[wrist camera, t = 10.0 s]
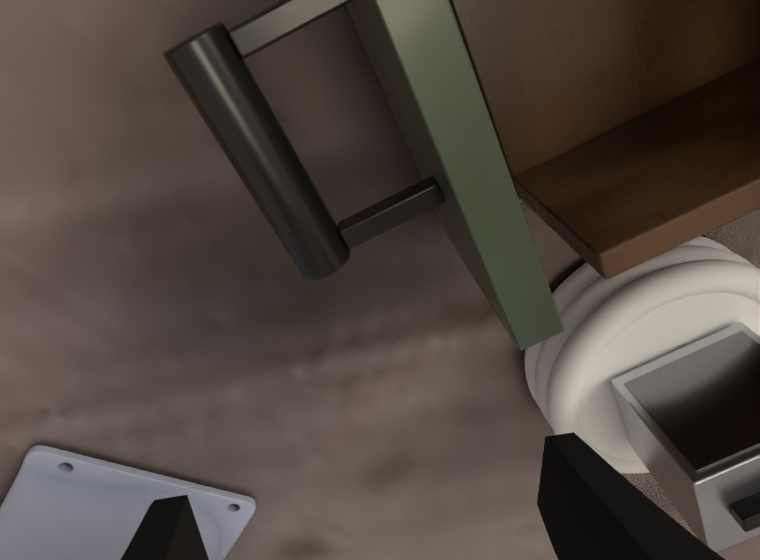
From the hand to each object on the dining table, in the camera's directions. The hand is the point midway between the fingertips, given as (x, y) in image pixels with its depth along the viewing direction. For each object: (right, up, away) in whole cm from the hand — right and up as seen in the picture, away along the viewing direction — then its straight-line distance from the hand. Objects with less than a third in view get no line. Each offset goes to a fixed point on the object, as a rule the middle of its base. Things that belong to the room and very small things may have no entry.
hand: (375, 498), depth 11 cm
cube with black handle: (+11, 0, +10) cm, 15 cm away
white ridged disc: (+11, +2, +13) cm, 17 cm away
